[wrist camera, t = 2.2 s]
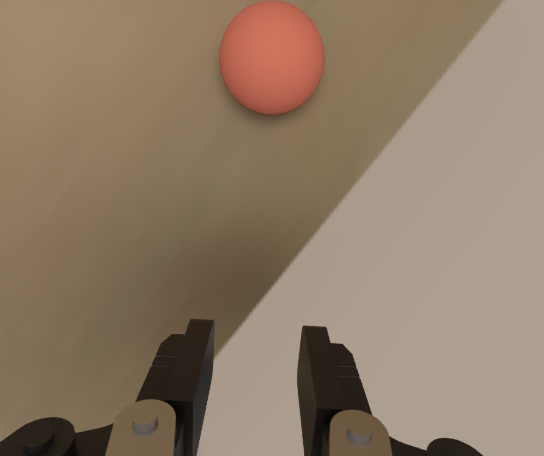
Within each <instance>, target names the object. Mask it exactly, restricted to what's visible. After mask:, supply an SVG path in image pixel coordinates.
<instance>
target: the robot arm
mask: <svg viewBox="0 0 544 456" xmlns="http://www.w3.org/2000/svg"><path fill="white" fill-rule="evenodd" d="M213 355H214V320H202V319H191V320H190V322H189V325H188V328H187V330H186V333H185V335H182V334H171V335H170V336H169V337H168V338H167V339H166V340H164V341H163V342H162V343H161V345H160V347H159V349H158V351H157V354H156V357H155V358H154V361H153V363H152V367H151V368H150V370H149V372H148V374H147V377H146V379H145V381H144V384H143V386H142V388H141V390H140V393H139V395H138V397H137V400H136V402H135V403H133V404H131V405H129V406H127V407H126V408H124V409H123V410H122V411H121V412H120V413H119V414H118V416H117V417H116V419H115V421H114V423H113V424H111V425H108V426H105V427H102V428H98V429H93V430H88V431H84V432H79V433H75V430H74V427H73V425H72V424H71V423H70V422H69V421H67V420H65V419H63V418H58V417H50V418H43V419H39V420H35V421H33V422H30V423H28V424H26V425H24V426H22V427H21V428H19V429H18V430H16V431H15V432H14V433H12V434H11V435H9V436H8V437H7V438H5V439H4V440H3V441H1V442H0V456H196V455H197V450H198V445H199V440H200V435H201V430H202V425H203V420H204V415H205V410H206V405H207V400H208V395H209V390H210V385H211V379H212V371H213ZM297 387H298V396H299V406H300V416H301V426H302V436H303V446H304V456H483V455H482V454H480V453H479V452H478V451H477V450H476V449H474V448H473V447H471V446H469V445H468V444H466V443H463V442H461V441H458V440H455V439H450V438H439V439H435V440H434V441H432V442H431V443H430V444H429V445H428V447H427V451H426V450H423V449H420V448H417V447H413V446H410V445H407V444H404V443H402V442H399V441H397V440H395V439H393V438H391V437H390V436H389V434H388V432H387V429H386V428H385V426H384V425H383V424H382V423H381V422H380V421H379V420H378V419H377V418H375V417H374V416H372V413H371V410H370V407H369V404H368V401H367V398H366V395H365V391H364V388H363V385H362V383H361V379H360V378H359V374H358V370H357V369H356V364H355V361H354V358H353V355H352V354H351V353H350V351H349V350H348V349H347V348H346V347H345V346H344V345H343V344H336V343H335V344H334V343H330V340H329V336H328V332H327V328H326V327H319V326H303V327H302V333H301V342H300V352H299V360H298V371H297Z"/></svg>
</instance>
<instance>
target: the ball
mask: <svg viewBox="0 0 544 456" xmlns="http://www.w3.org/2000/svg"><path fill="white" fill-rule="evenodd" d="M219 60H220V69H221V73H222V76H223V79H224V82H225V84H226V86H227V88H228V89H229V91H230V92H231V94H232V95H233V96H234V97H235V98H236V99H237V100H238V101H239V102H240V103H241V104H242V105H244V106H245V107H247V108H249V109H251V110H253V111H256V112H258V113H263V114H281V113H285V112H288V111H291V110H293V109H295V108H297V107H298V106H300V105H301V104H302V103H304V102H305V101H306V100H307V99H308V98H309V97H310V96H311V95H312V93H313V92H314V90H315V89H316V87H317V85H318V83H319V81H320V78H321V76H322V71H323V66H324V49H323V43H322V40H321V37H320V34H319V32H318V30H317V28H316V26H315V25H314V23H313V22H312V20H311V19H310V18H309V17H308V16H307V15H306V14H305V13H304V12H302V11H301V10H300V9H298V8H297V7H295V6H293V5H291V4H288V3H285V2H281V1H263V2H258V3H255V4H253V5H251V6H249V7H247V8H245V9H244V10H242V11H241V12H240V13H239V14H238V15H236V16H235V17H234V19H233V20H232V21H231V22H230V24H229V25H228V27H227V29H226V31H225V33H224V35H223V38H222V42H221V46H220V55H219Z"/></svg>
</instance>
